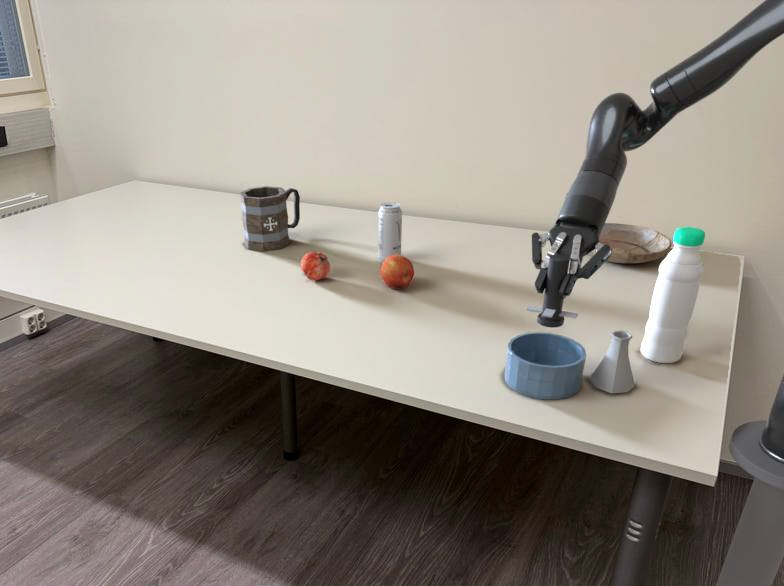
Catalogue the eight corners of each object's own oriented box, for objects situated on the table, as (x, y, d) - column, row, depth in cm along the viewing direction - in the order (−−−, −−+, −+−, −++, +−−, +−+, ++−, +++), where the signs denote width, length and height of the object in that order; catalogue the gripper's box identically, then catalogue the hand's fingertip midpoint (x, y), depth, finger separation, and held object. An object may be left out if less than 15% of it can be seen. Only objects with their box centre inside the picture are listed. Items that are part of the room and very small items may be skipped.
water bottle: (670, 368, 123) (703, 239, 111) (633, 356, 128) (660, 230, 116) (687, 355, 127) (720, 229, 115) (649, 343, 132) (678, 220, 120)
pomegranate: (297, 288, 171) (314, 274, 162) (290, 261, 172) (306, 246, 163) (322, 284, 174) (340, 271, 165) (315, 258, 175) (332, 243, 166)
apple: (406, 278, 167) (407, 248, 163) (419, 291, 160) (420, 260, 156) (376, 283, 165) (376, 252, 161) (387, 296, 158) (388, 264, 154)
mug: (262, 254, 187) (258, 201, 180) (234, 243, 196) (229, 193, 189) (315, 237, 198) (312, 187, 191) (286, 227, 207) (283, 179, 200)
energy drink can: (398, 265, 175) (399, 209, 168) (376, 263, 177) (376, 208, 170) (402, 257, 180) (404, 202, 173) (380, 255, 182) (381, 201, 175)
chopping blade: (585, 321, 116) (596, 256, 110) (558, 337, 111) (569, 270, 106) (542, 307, 122) (551, 245, 116) (515, 322, 117) (523, 257, 111)
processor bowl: (594, 380, 121) (600, 348, 118) (553, 408, 114) (559, 375, 111) (531, 355, 130) (535, 325, 127) (489, 379, 123) (492, 349, 120)
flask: (580, 379, 122) (589, 330, 117) (611, 370, 124) (621, 321, 119) (611, 398, 116) (622, 347, 111) (642, 388, 118) (654, 338, 113)
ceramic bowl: (582, 272, 165) (586, 253, 163) (562, 240, 186) (564, 223, 183) (682, 271, 162) (686, 252, 160) (649, 239, 183) (653, 222, 180)
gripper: (632, 222, 113) (595, 312, 111) (551, 210, 121) (515, 293, 119) (628, 199, 107) (589, 294, 105) (543, 187, 115) (505, 275, 113)
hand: (550, 293), depth 112 cm, fingers closed on chopping blade, 3 cm apart
